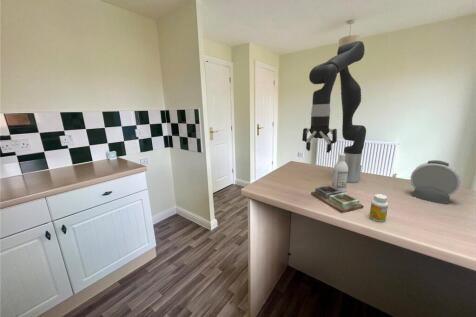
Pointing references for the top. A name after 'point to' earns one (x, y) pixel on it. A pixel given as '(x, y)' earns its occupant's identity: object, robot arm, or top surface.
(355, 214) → the top surface
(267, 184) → the top surface
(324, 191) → the socket board
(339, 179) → the bath foam
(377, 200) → the supplement bottle
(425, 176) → the alarm clock
